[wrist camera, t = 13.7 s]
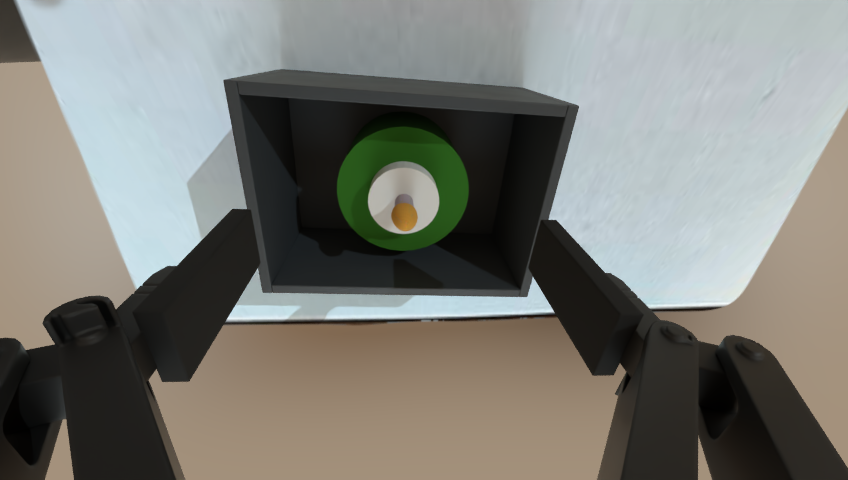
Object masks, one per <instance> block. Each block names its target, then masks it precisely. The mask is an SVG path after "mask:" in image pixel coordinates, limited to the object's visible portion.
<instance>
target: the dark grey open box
mask: <svg viewBox="0 0 848 480" xmlns="http://www.w3.org/2000/svg"><path fill="white" fill-rule="evenodd" d="M224 86H225V92H226V97H227V102H228V108H229V113H230V119H231V124H232V129H233V135H234V140H235V146H236V151H237V156H238V162H239V167H240V173H241V178H242V183H243V189H244V194H245V199H246V205H247V209H249V210H251V213H252V218H253V224H254V229H255V234H256V240H257V245H258V251H259V256H260V262H261V263H260V265H259V267H258V270H259V275H260V280H261V286H262V291H263V293H272V292H273V293H323V294H380V295H437V296H494V297H527V296H528V292H529V288H530V285H531V281H532V277H533V276H532V274H531V272H530V271H529V269H528V266H529V262H530V258H531V255H532V251H533V247H534V243H535V240H536V236H537V232H538V228H539V225H540V221H541V220H548V219H549V215H550V211H551V208H552V204H553V200H554V197H555V193H556V189H557V186H558V182H559V178H560V175H561V171H562V167H563V164H564V160H565V156H566V153H567V149H568V145H569V142H570V138H571V134H572V131H573V127H574V123H575V120H576V116H577V112H578V109H579V106H578V105H575V104H572V103H569V102H565V101H562V100H559V99H556V98H553V97H550V96H547V95H544V94H541V93H537V92H534V91H531V90H528V89H525V88H519V87H506V86H492V85H479V84H466V83H453V82H440V81H427V80H414V79H401V78H388V77H375V76H362V75H349V74H336V73H323V72H310V71H297V70H284V69H280V70H274V71H269V72H264V73H258V74H253V75H247V76H242V77H237V78H231V79H226V80H224ZM399 111H406V112H413V113H417V114H420V115H422V116H425V117H427V118H429V119H430V120H432V121H433V122H435V123H436V124H437V125H438V126H439V127H440V128H441V129H442V130H443V131H444V132H445V133H446V135H447V136H448V138H449V139H450V141H451V143H452V144H453V146H454V148H455V150H456V151H457V153H458V155H459V157H460V159H461V160H462V163H463V165H464V167H465V170H466V173H467V178H468V183H469V196H468V200H467V205H466V208H465V211H464V213H463V215H462V217H461V219H460V220H459V222H458V223H457V225H456V226H455V228H454V229H453V230H452V231H451V232H450V233H448V234H447V235H446V236H445V237H444V238H442V239H441V240H439V241H438V242H436V243H434V244H432V245H429V246H427V247H424V248H420V249H416V250H407V251H399V250H390V249H386V248H382V247H379V246H377V245H375V244H372V243H370V242H368V241H367V240H365V239H364V238H363V237H361V236H360V235H358V234H357V233H356V232H355V231H354V230H353V228H352V227H351V226H350V225H349V223H348V222H347V220H346V219H345V217H344V216H343V213H342V211H341V208H340V206H339V201H338V196H337V180H338V176H339V172H340V168H341V166H342V164H343V162H344V160H345V157H346V155H347V153H348V151H349V149H350V147H351V145H352V143H353V141H354V139H355V137H356V135H357V134H358V133H359V131H360V130H361V129H362V128H363V127H364V126H365V125H366V124H367V123H369V122H370V121H371V120H373V119H375V118H377V117H378V116H380V115H383V114H387V113H390V112H399Z"/></svg>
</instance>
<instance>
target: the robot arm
mask: <svg viewBox="0 0 848 480" xmlns="http://www.w3.org/2000/svg"><path fill="white" fill-rule="evenodd" d="M260 263H261V262H260V256H259V251H258V245H257V240H256V234H255V229H254V224H253V218H252V213H251V210H249V209H232V210H231V211H230V212H229V213H228V214H227V215H226V216H225V217H224V218H223V219H222V220H221V221H220V222H219V223H218V224H217V225H216V226H215V227H214V228H213V229H212V230H211V231H210V232H209V233H208V235H207V236H206V237H205V238H204V239H203V240H202V241H201V242H200V243H199V244H198V245H197V246H196V247H195V248H194V249H193V250H192V251H191V252H190V253H189V254H188V255H187V256H186V257H185V258H184V259H183V260H182V261H181V262H180V263H179V264H178V265H177V266H167V267H165V268H163V269H162V270H160V271H158V272H156V273H154V274H153V275H152V276H151V277H149V278H148V279H147V280H146V281H145V282H144V283H143V286H140V287H139V288H138V289H137V290H136V291H135V293H134V294H132V295H131V296H130V297H129V298H128V299H127V300H126V301H124V302H123V303H122V304H121V305H120V306H119V307H118V308H117V309H115V307H114V305H113V303H112V301H111V300H110V299H109V298H108V297H104V296H88V297H84V298H79V299H76V300H73V301H70V302H67V303H65V304H62V305H61V306H59V307H57V308H55V309H54V310H52V311H51V312H50V313H49V314H48V315H47V316H46V317H45V318H44V321H43V325H44V327H45V328H46V330H47V332H48V333H49V335H50V337H51V338H52V340H53V341H54V343H55V345H50V346H45V347H40V348H35V349H30V350H25V349H24V347H23V346H22V344H21V343H20V342H19V341H18V340H16V339H14V338H0V480H45V476H46V473H47V470H48V467H49V463H50V460H51V456H52V453H53V450H54V447H55V443H56V440H57V436H58V433H59V429H60V426H61V423H62V420H63V419H67V428H68V435H69V443H70V451H71V459H72V467H73V475H74V480H185V478H184V475H183V472H182V469H181V467H180V464H179V461H178V458H177V456H176V453H175V450H174V447H173V445H172V442H171V439H170V436H169V434H168V431H167V428H166V426H165V423H164V420H163V417H162V414H161V412H160V409H159V406H158V404H157V401H156V398H155V395H154V392H153V390H152V387H151V385H150V383H149V381H148V380H149V378H150V377H151V375H152V374H153V373H154V371H155V370H156V369H157V371H158V373H159V375H160V377H161V380H162V382H182V381H183V382H186V381H187V382H188V381H190V379H191V378H192V376H193V374H194V373H195V371H196V369H197V368H198V366H199V364H200V363H201V361H202V359H203V358H204V356H205V354H206V353H207V351H208V349H209V348H210V346H211V344H212V342H213V341H214V339H215V338H216V336H217V334H218V333H219V331H220V330H221V328H222V326H223V325H224V323H225V321H226V320H227V318H228V316H229V315H230V313H231V311H232V310H233V308H234V306H235V305H236V303H237V301H238V300H239V298H240V296H241V295H242V293H243V291H244V290H245V288H246V286H247V285H248V283H249V281H250V280H251V278H252V276H253V275H254V273H255V271H256V270H257V268H258V267H259V265H260ZM528 269H529V271H530V272H531V274H532V276H533V277H534V279H535V280H536V282H537V284H538V285H539V287H540V289H541V290H542V292H543V294H544V295H545V297H546V299H547V300H548V302H549V304H550V305H551V307H552V309H553V310H554V312H555V314H556V315H557V317H558V319H559V320H560V322H561V324H562V325H563V327H564V329H565V330H566V332H567V334H568V335H569V337H570V339H571V340H572V342H573V344H574V345H575V347H576V349H577V350H578V352H579V353H580V355H581V357H582V358H583V360H584V362H585V363H586V365H587V367H588V368H589V370H590V372H591V373H592V375H594V376H597V375H614V373H615V371H616V369H617V367H618V365H619V363H621V365H622V366H623V368H624V369H625V370H626V374H625V376H624V378H623V379H622V381H621V383H620V385H619V387H618V389H617V391H616V393H615V394H616V395H618V399H617V404H616V407H615V412H614V416H613V419H612V423H611V427H610V431H609V435H608V439H607V443H606V447H605V451H604V455H603V459H602V463H601V467H600V470H599V474H598V479H597V480H698V435H699V439H700V442H701V445H702V448H703V451H704V454H705V458H706V461H707V464H708V467H709V471H710V474H711V477H712V480H848V468H847V466H846V465H845V463H844V462H843V460H842V459H841V457H840V455H839V454H838V453H837V451H836V449H835V448H834V446H833V445H832V443H831V442H830V440H829V439H828V437H827V436H826V434H825V432H824V431H823V429H822V428H821V427H820V425H819V423H818V422H817V420H816V419H815V417H814V416H813V414H812V413H811V411H810V409H809V408H808V406H807V405H806V403H805V402H804V400H803V399H802V397H801V396H800V394H799V393H798V391H797V390H796V388H795V386H794V385H793V383H792V382H791V380H790V379H789V377H788V376H787V374H786V373H785V371H784V370H783V368H782V367H781V365H780V364H779V362H778V360H777V359H776V358H775V356H774V355H773V354H772V353H771V352H770V351H768V350H767V349H766V348H764V347H763V346H762V345H760V344H759V343H756V342H755V341H753V340H750V339H747V338H744V337H740V336H735V335H731V336H726V337H725V338H724V339H723V341H722V342H721V344H720V345H719V346H718V345H714V344H709V343H705V342H700V341H698V340H697V338H696V337H695V336H694V335H693V334H692V333H691V332H690V331H688V330H687V329H685V328H684V327H682V326H680V325H678V324H676V323H673V322H669V321H663V320H660V319H659V318H658V317H657V316H656V315H655V314H654V313H653V312H652V311H651V310H650V309H649V308H648V307H647V306H646V305H645V304H644V303H643V302H642V301H641V300H640V298H637V295H636V294H635V293H634V292H633V291H631V289H630V288H629V287H628V286H627V285H626V284H625V283H624V282H623V281H622V280H620V279H619V278H617V277H616V276H614V275H612V274H611V273H605V272H604V271H603V270H602V269H601V268H600V267H599V266H598V265H597V264H596V263H595V261H594V260H593V259H592V258H591V257H590V256H589V255H588V254H587V253H586V252H585V251H584V250H583V249H582V247H581V246H580V245H579V244H578V243H577V242H576V241H575V240H574V239H573V238H572V237H571V236H570V234H569V233H568V232H567V231H566V230H565V229H564V228H563V227H562V226H561V225H560V224H559V223H558V222H557V220H541V221H540V225H539V228H538V232H537V236H536V240H535V243H534V247H533V251H532V255H531V258H530V262H529V266H528Z"/></svg>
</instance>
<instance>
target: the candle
mask: <svg viewBox="0 0 848 480" xmlns="http://www.w3.org/2000/svg"><path fill="white" fill-rule="evenodd" d="M337 196H338V201H339V206H340V208H341V211H342V213H343V216H344V217H345V219H346V220H347V222H348V223H349V225H350V226H351V227H352V228H353V230H354V231H355V232H356V233H357V234H358V235H360V236H361V237H363V238H364V239H365V240H367V241H368V242H370V243H372V244H375V245H377V246H379V247H382V248H386V249H390V250H399V251H407V250H416V249H420V248H424V247H427V246H429V245H432V244H434V243H436V242H438V241H439V240H441V239H442V238H444V237H445V236H446V235H447V234H448V233H450V232H451V231H452V230H453V229H454V228H455V226H456V225H457V223H458V222H459V220H460V219H461V217H462V215H463V213H464V211H465V208H466V205H467V200H468V196H469V183H468V178H467V173H466V170H465V167H464V165H463V163H462V160H461V159H460V157H459V155H458V153H457V151H456V150H455V148H454V146H453V144H452V143H451V141H450V139H449V138H448V136H447V135H446V133H445V132H444V131H443V130H442V129H441V128H440V127H439V126H438V125H437V124H436V123H435V122H433V121H432V120H430V119H429V118H427V117H425V116H422V115H420V114H417V113H413V112H406V111H399V112H390V113H387V114H383V115H380V116H378V117H377V118H375V119H373V120H371V121H370V122H369V123H367V124H366V125H365V126H364V127H363V128H362V129H361V130H360V131H359V133H358V134H357V135H356V137H355V139H354V141H353V143H352V145H351V147H350V149H349V151H348V153H347V155H346V157H345V160H344V162H343V164H342V166H341V168H340V172H339V176H338V180H337Z"/></svg>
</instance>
